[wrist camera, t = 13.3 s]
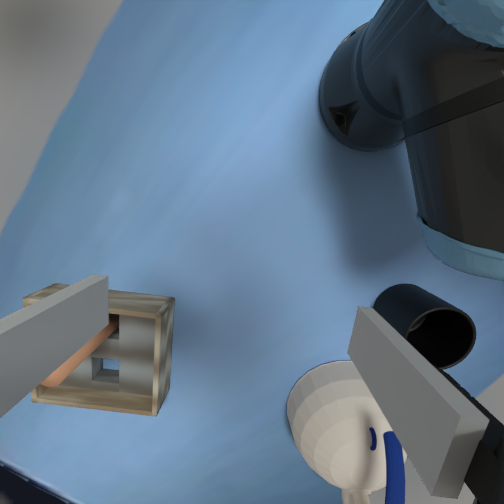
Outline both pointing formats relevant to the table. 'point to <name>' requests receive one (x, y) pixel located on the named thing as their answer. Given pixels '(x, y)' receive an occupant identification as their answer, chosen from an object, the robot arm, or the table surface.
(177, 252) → the table surface
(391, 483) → the kettle
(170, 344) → the box
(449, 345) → the mug
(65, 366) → the peg
